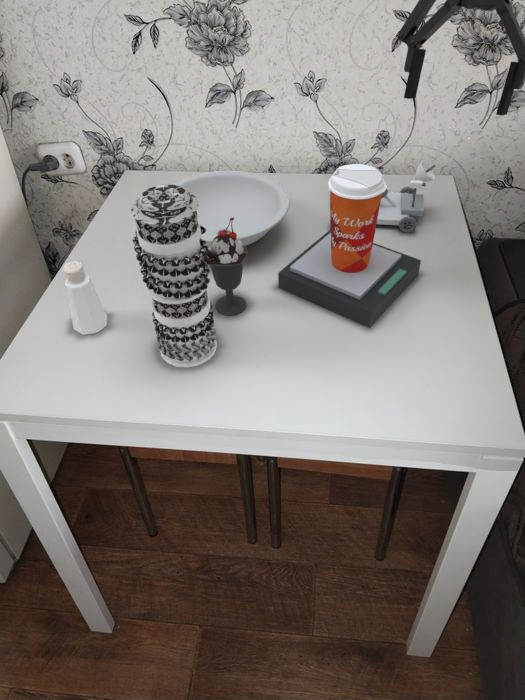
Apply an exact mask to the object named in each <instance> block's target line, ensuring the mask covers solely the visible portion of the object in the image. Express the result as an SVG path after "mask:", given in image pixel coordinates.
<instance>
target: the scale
mask: <svg viewBox="0 0 525 700" xmlns="http://www.w3.org/2000/svg"><path fill="white" fill-rule="evenodd" d="M421 262H422V259H419V258H416V257H413V256H411V255H408V254H406V253H403V252H400V251H398V250H394V249H391V248H388V247H386V246H384V245H381V244H378V243H375V242H373V246H372V251H371V256H370V261H369V264H368V266H367V268H366V269H364V270H363V271H360V272H357V273H346V272H342V271H339V270H337V269H336V268H335V267H334V266H333V265H332V260H331V228H329V230H327V232H325V233H324V234H323V235H322V236H321V237H319V238H318V239H317V240H316V241H315V242H313V243H312V244H311V245H309V247H307V248H306V249H305V250H304V251H303V252H301V253H300V254H299V255H298V256H297V257H295V258H294V259H293V260H292V261H290V262H289V263H288V264H287V265H286V266H285V267H283V268H282V269H281V270H280V271H278V273H277V277H278V282H277V283H278V284H277V285H278V289H281V290H283V291H286V292H287V293H290V294H291V295H294V296H296V297H299V298H301V299H304V300H305V301H308V302H310V303H313V304H315V305H317V306H320V307H321V308H323V309H326V310H328V311H330V312H333V313H335V314H337V315H340V316H342V317H343V318H347V319H349V320H351V321H353V322H355V323H358V324H360V325H363V326H364V327H367V328H371V326H372V325H374V323H375V322H376V321H377V320H378V319H379V318H380V317H381V316H382V315H383V314H384V312H385V311H386V310H387V309H388V308H389V307H390V306H391V305H392V304H393V303H394V302H395V301H396V300H397V299H398V297H399V296H401V294H402V293H403V292H404V291H405V290H406V289H407V288H408V287H409V286H410V285H411V284H412V282H413V281H414V280H415V279H416V278H417V277H418V276H419V273H420V269H421V268H420V267H421Z"/></svg>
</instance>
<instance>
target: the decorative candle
mask: <svg viewBox="0 0 525 700" xmlns="http://www.w3.org/2000/svg"><path fill="white" fill-rule="evenodd" d="M198 206H199V202H198V200H197V197H195V196H194V195H192V194H191V193H189V192H187V191H186V190H184V189H183V188H182V187H180V186H176V185H172V184H167V183H165V184H158V185H154V186H151V187H148V188H147V189H145V191H143V192H142V193H141V194H140V195H139V198H138V199H136V200H135V201H134V202H133V204H132V206H131V208H130V212H131V216H132V217H134V220H135V225H136V229H135V233H134V235H135V236H134V237H133V238H132V243H133V244H134V246H133V251H134V252H135V253H136V260H137V262H138V265H139V267H140V274H141V275H142V282H143V283H144V284H145V288H146V292H147V295H148V296H150V298H151V299H152V302H151V306H152V310H153V311H152V313H151V316H152V322H153V324H154V325H155V326H154V331H155V335H156V341H157V342H158V344H157V346H158V349H159V352H160V355H161V358H162V359H163V360H164V362H166V364H168V365H171V366H174V367H177V368H192V367H198V366H200V365H203V364H204V363H206V362H208V361H209V360H210V359H211V358H213V356H214V355H215V354H216V350H217V348H218V342H217V339H218V338H217V336H216V333H217V330H216V328H214V327H215V326H216V324H215V319H214V310H213V305H212V303H211V301H210V296H209V293H208V287H209V284H210V281H211V279H210V278H209V273H210V267H209V266H208V265H209V264H208V265H207V263H206V262H207V261H208V260H209V257H208V256H207V255H208V254H207V252H206V251H207V249H208V246H207V245H206V241H205V240H203V239H201V238H200V237H201V235H202V234H204V233H205V232H206V229H205V228H204V227H202V226H201V225H200V224H199V221H198V219H197V218H198V216H197V208H198ZM200 245H201V246H202V248H201V247H200Z"/></svg>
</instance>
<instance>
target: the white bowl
mask: <svg viewBox="0 0 525 700" xmlns="http://www.w3.org/2000/svg"><path fill="white" fill-rule="evenodd" d="M171 185H176V186H180V187H182V188H183V189H184V190H186V191H187V192H189V193H191V194H192V195H194V196H195V197H197V200H198V202H199V206H198V208H197V216H198V218H197V219H198V221H199V224H200V225H201V226H202V227H204V228H205V229H206V232H205V233H204V234H202V235H201V237H200V238H201V239H203V240H205V241H206V245H207V246H210V244H211V243H212V241H213V239H214V238H215V237H216V236H218V235H219V233H220V231H221V230H225V229H226V228H227V227H228V225H229V222H230V225H229V227H228V228H227V230H226V232H229V233H230V232H232V228H233V232H235V233H236V234H237V237H236V238H237V239H239V240H240V241H241V243H242V244H243V245H244V246H245V247H247V246H248V245H251V244H254V243H255V242H256V241H257V242H258V240H260V239H261V238H263V237H264V236H265V235H267V233H268V232H270V230H271V229H273V228H274V227H276V226H277V225H279V223H280V222H281V221H283V219H284V218H285V217H286V215H287V213H288V211H289V208H290V197H289V194H288V192H287V190H286V189H285V188H284V186H282V185H281V184H280V183H279V182H277V181H276V180H274V179H272V178H270V177H267V176H265V175H263V174H259V173H255V172H251V171H245V170H230V169H229V170H228V169H226V170H213V171H206V172H202V173H201V172H200V173H197V174H193V175H190V176H187V177H184V178H182V179H180V180H178V181H175V182H174V183H172V184H171ZM233 217H234V220H233V221H230V218H233ZM231 222H232V228H231ZM200 247H201V248H202V246H201V245H200Z"/></svg>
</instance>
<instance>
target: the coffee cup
mask: <svg viewBox="0 0 525 700" xmlns="http://www.w3.org/2000/svg"><path fill="white" fill-rule="evenodd" d="M387 186H388V185H387V183H386V181H385V178H384V176H383V174H382V172H381V171H380V170H379V169H378V168H377V167H374V166H371V165H368V164H363V163H352V164H351V163H350V164H345V165H341V166H339V167H337V168H336V169H335V171H334V172H333V173H332V175H331V176H330V178H329V180H328V182H327V187H328V189H329V209H330V210H329V213H330V214H329V215H330V217H329V218H330V219H331V223H330V229H331V260H332V265H333V266H334V267H335V268H336V269H337V270H339V271H342V272H346V273H357V272H360V271H363V270H364V269H366V268H367V266H368V264H369V261H370V256H371V251H372V246H373V243H374V241H375V234H376V229H377V225H378V224H377V218H378V213H379V207H380V202H381V196H382V193H383V192H384V191H385V190H386V189H387Z"/></svg>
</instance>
